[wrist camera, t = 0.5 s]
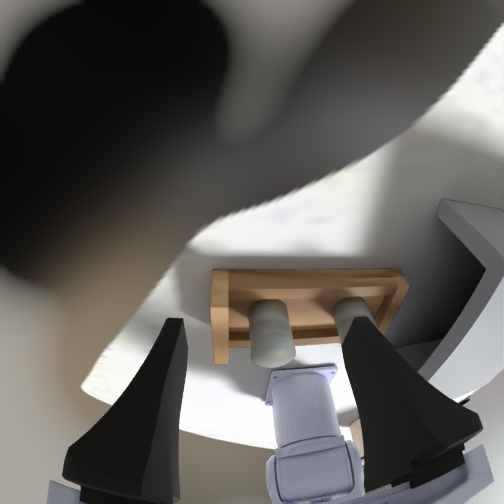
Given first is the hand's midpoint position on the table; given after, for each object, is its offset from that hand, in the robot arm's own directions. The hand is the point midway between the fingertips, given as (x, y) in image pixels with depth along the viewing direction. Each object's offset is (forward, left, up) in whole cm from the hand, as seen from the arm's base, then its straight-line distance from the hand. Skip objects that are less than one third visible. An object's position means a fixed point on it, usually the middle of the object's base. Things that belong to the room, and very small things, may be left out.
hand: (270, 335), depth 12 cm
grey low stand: (-8, -24, -10) cm, 27 cm away
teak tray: (-8, -5, -10) cm, 14 cm away
